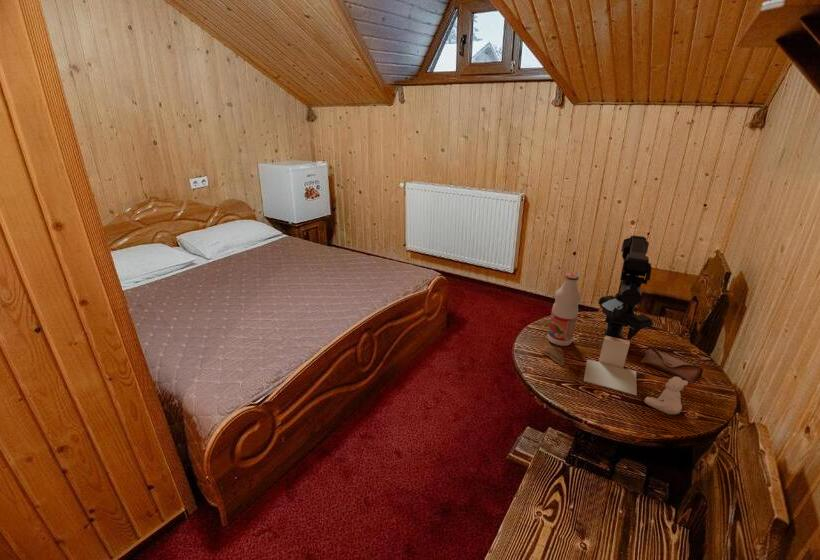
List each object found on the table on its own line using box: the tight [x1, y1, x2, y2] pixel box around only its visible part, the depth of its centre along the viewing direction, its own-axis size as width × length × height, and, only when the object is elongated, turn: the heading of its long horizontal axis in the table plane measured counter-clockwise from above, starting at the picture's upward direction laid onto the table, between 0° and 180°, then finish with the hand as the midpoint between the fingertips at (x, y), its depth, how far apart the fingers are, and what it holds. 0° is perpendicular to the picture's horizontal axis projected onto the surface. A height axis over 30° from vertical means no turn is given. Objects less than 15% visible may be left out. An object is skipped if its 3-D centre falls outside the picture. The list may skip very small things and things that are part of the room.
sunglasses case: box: [640, 347, 703, 385], centre depth 144 cm, size 18×7×7 cm, turn 43°
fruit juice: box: [547, 272, 582, 347], centre depth 155 cm, size 9×9×28 cm
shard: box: [541, 345, 565, 367], centre depth 149 cm, size 11×8×2 cm
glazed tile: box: [598, 336, 631, 369], centre depth 144 cm, size 2×8×10 cm, turn 64°
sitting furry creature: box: [644, 376, 689, 415], centre depth 122 cm, size 10×9×12 cm
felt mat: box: [583, 358, 638, 397], centre depth 139 cm, size 14×16×1 cm
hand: (618, 332), depth 141 cm, fingers open, 9 cm apart
